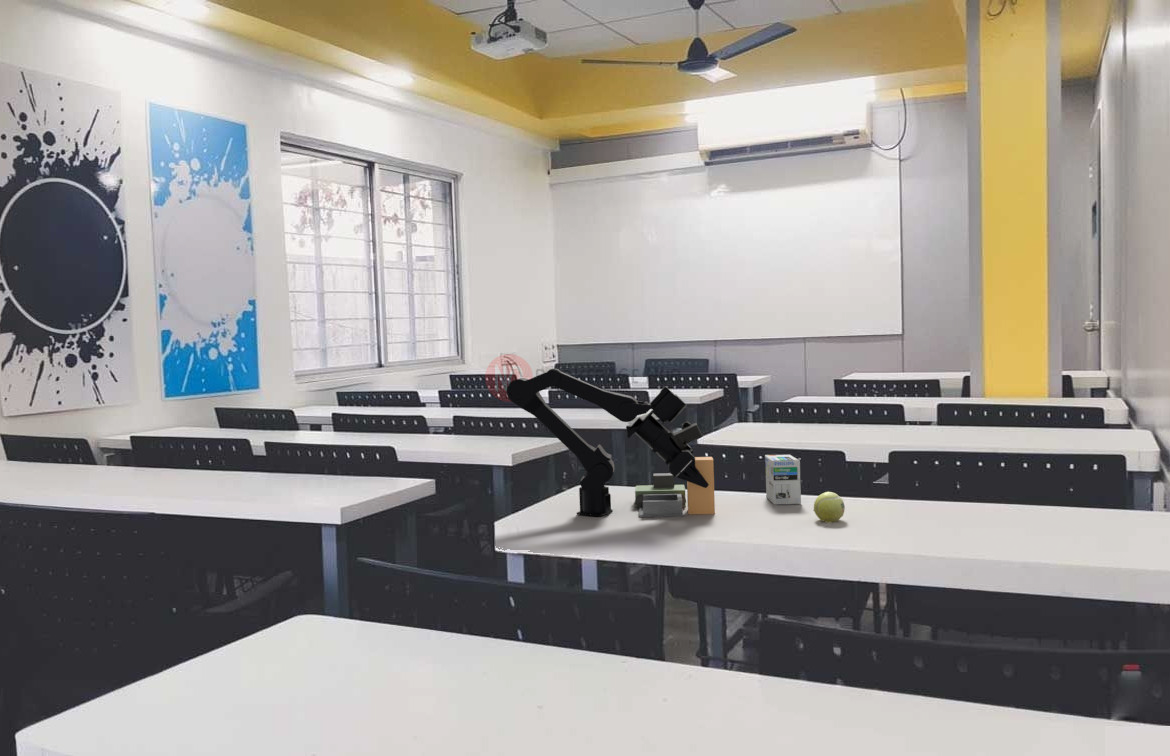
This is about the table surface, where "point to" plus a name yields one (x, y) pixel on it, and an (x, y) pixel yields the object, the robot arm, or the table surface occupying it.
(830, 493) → the tennis ball
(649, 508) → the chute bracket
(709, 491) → the tan rectangular block
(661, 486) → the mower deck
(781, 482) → the light bulb box
